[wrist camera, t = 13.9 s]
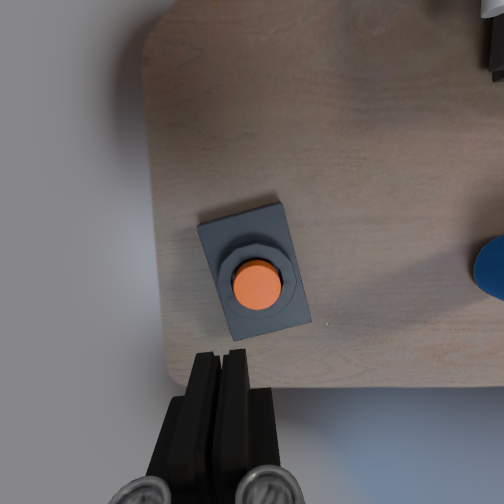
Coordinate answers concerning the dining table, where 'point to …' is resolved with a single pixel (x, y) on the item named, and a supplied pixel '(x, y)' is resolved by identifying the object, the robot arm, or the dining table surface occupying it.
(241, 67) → the dining table surface
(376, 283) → the dining table surface
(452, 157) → the dining table surface
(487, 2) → the drawer
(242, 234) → the control block
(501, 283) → the beverage can
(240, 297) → the button
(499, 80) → the black cabinet
